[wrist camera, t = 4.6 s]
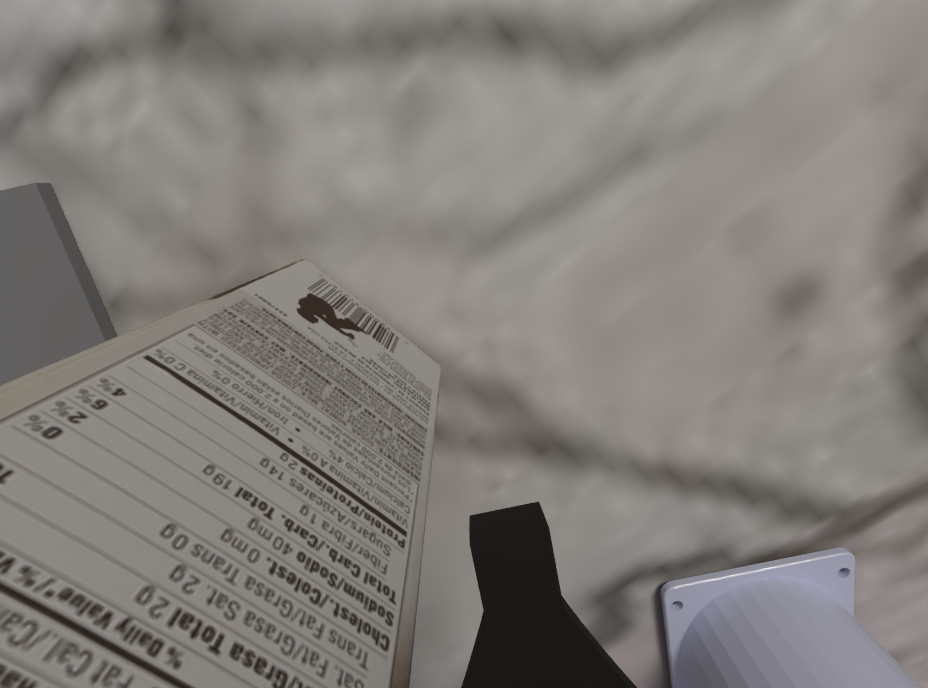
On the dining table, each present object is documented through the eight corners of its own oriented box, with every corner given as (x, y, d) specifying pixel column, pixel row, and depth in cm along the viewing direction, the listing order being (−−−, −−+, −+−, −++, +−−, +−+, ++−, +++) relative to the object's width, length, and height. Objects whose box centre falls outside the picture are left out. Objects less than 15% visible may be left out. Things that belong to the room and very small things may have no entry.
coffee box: (304, 532, 20) (-242, 1728, 4) (160, 438, 19) (-1297, 1657, 3) (451, 366, 18) (386, 1520, 2) (301, 247, 17) (-1883, 1084, 1)
